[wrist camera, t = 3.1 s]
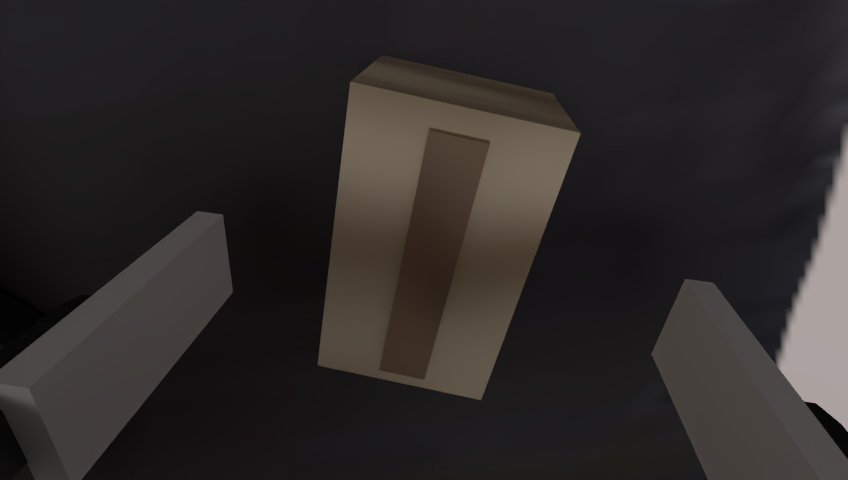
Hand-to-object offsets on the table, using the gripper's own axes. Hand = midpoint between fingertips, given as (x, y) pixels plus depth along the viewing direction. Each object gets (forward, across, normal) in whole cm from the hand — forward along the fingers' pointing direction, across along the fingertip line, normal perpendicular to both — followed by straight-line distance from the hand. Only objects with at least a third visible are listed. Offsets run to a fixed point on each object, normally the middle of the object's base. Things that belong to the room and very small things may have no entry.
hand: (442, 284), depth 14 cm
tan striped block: (+6, +1, 0) cm, 6 cm away
